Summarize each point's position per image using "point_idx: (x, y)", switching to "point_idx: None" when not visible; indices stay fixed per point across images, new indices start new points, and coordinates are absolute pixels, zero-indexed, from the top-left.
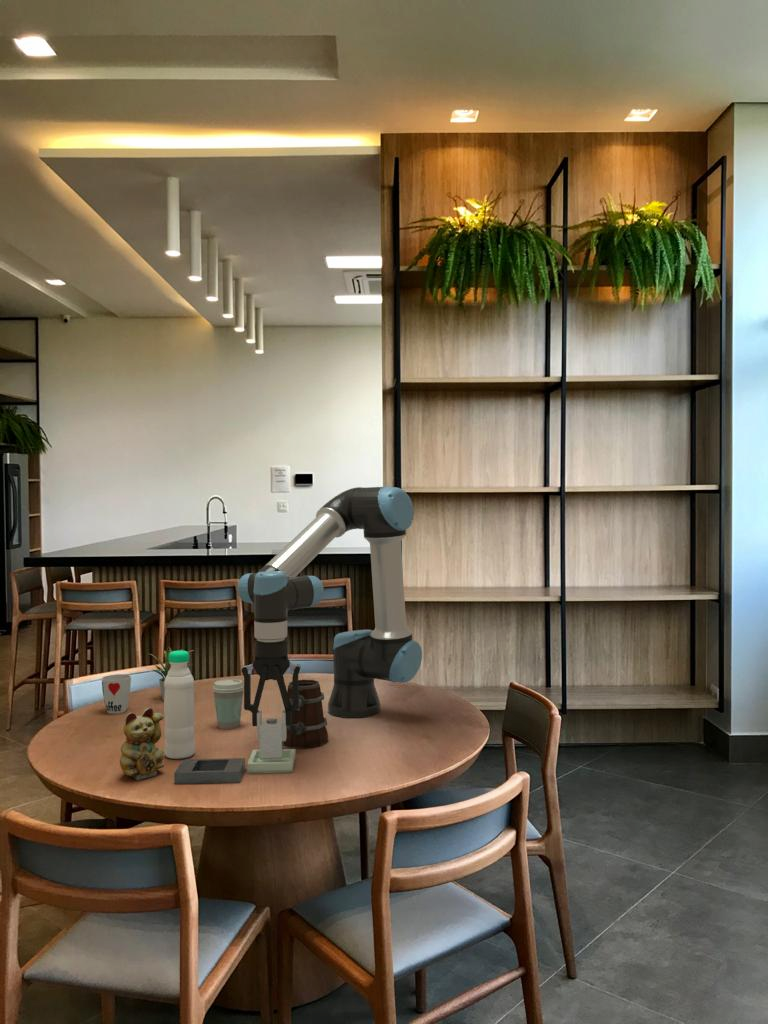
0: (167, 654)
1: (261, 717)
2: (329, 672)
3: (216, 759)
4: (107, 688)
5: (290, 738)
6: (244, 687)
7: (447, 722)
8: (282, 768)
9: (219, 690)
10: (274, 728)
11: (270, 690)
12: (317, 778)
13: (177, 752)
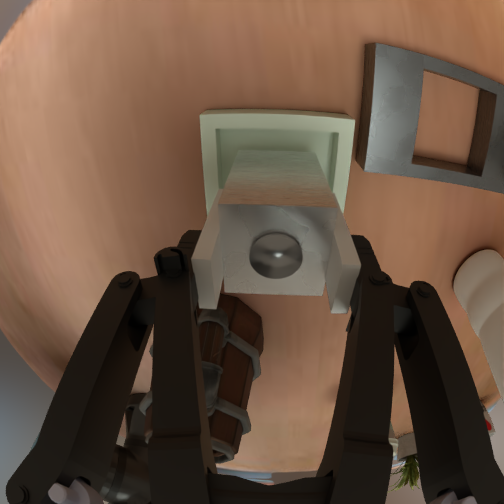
0: (413, 481)
1: (327, 284)
2: (228, 469)
3: (442, 173)
4: (491, 423)
5: (236, 316)
6: (475, 396)
7: (34, 350)
8: (235, 111)
9: (390, 442)
10: (258, 195)
11: (290, 455)
12: (129, 70)
13: (494, 256)
